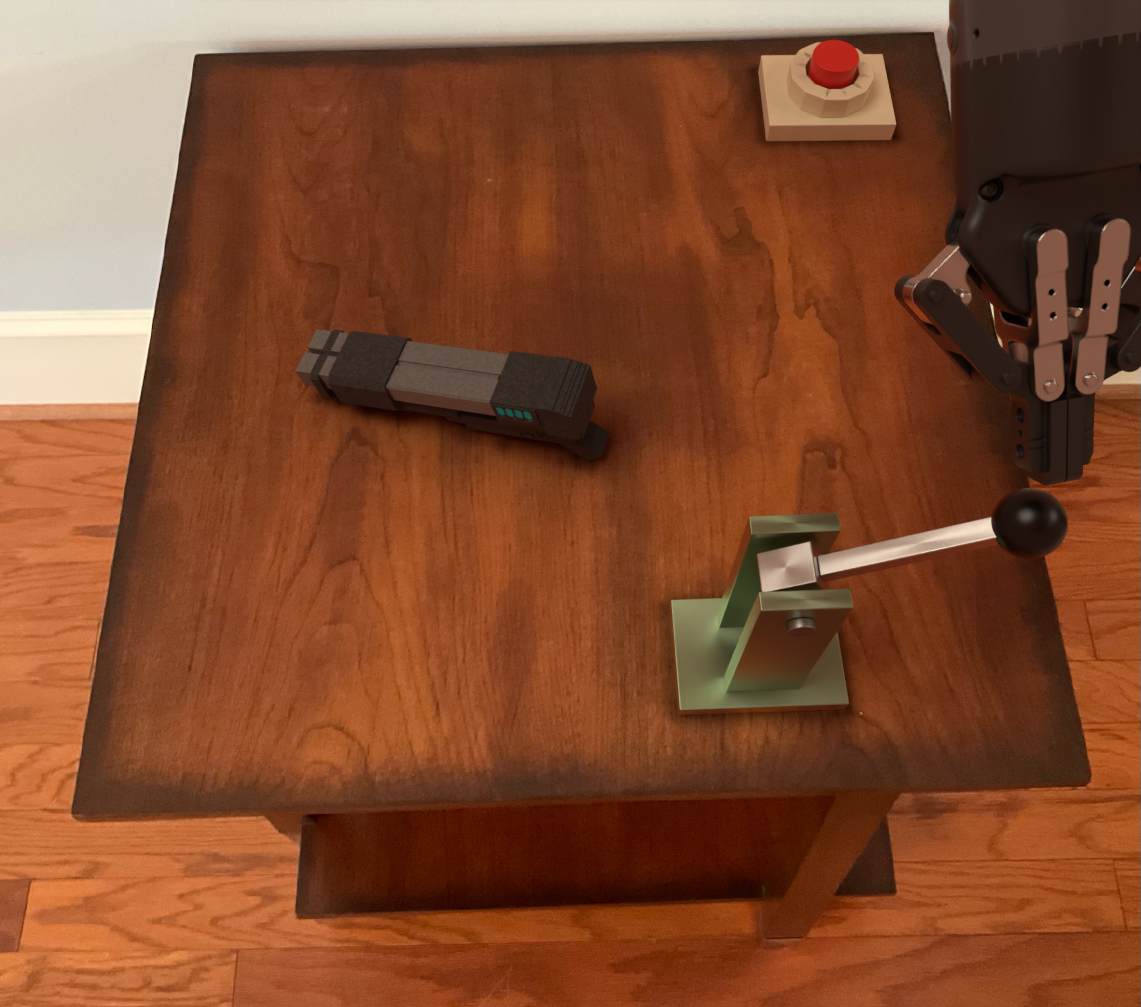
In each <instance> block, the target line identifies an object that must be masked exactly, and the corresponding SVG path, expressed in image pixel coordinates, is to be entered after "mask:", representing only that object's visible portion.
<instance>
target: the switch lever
mask: <svg viewBox="0 0 1141 1007" xmlns="http://www.w3.org/2000/svg"><path fill="white" fill-rule="evenodd" d="M1067 514H1068V513H1067V511H1066V509H1065V507H1064V506H1063V504H1062V502H1061V501H1059V499H1058V498H1057V497H1055V496H1054V495H1053V494H1051V493H1049V491H1048V492H1047V491H1045V490H1043V489H1039V488H1034V487H1024V488H1019V489H1015V490H1013V491H1010V492H1009V493H1006V494H1005V495H1004V496H1002V497H1001V498H1000V499H999V501H998V502H997V503H996V504H995V506H994V508H993V509H992V512H991V516H987V517H983V518H978V519H974V520H969V521H965V522H962V523H961V522H960V523H956V524H951V525H948V526H943V527H939V528H934V529H930V530H925V531H920V532H916V533H912V534H907V535H903V536H899V537H898V536H897V537H894V538H890V539H885V540H881V541H877V542H872V543H867V544H863V545H860V546H854V547H850V548H846V549H845V548H844V549H841V550H836V551H832V552H829V553H827V554H823V555H822V554H821V553H820V552H819V550H818V549H817V548H816V547H815V546H814V545H813V543H812V542H811V541H808V542H803V543H799V544H795V545H790V546H786V547H782V548H778V549H773V550H769V551H765V552H760V553H757V561H758V569H759V576H760V584H761V592H768V591H796V590H824V589H830V584H829V582H831V581H836V580H841V579H846V578H851V577H856V576H860V575H864V574H870V573H874V572H879V571H884V570H888V569H893V568H898V567H902V566H903V567H904V566H908V565H912V564H917V563H921V562H925V561H931V560H936V559H940V558H946V557H949V556H954V555H958V554H963V553H968V552H973V551H976V550H977V551H978V550H983V549H987V548H991V547H996V546H999V547H1000V549H1002V551H1004V552H1006V553H1007V554H1009V555H1011V556H1013V557H1016V558H1020V559H1027V560H1033V559H1040V558H1043V557H1046V556H1048V555H1050V554H1052V553H1053V552H1055V551H1056V550H1057V549H1058V548H1059V547H1060V546H1061V545H1062V544H1063V542H1064V540H1065V538H1066V536H1067V533H1068V528H1069V518H1068V515H1067Z"/></svg>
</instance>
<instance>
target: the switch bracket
mask: <svg viewBox="0 0 1141 1007" xmlns="http://www.w3.org/2000/svg"><path fill="white" fill-rule="evenodd" d="M839 517H840V516H839V514H838V512H827V513H825V512H823V513H800V514H799V513H798V514H771V515H769V514H768V515H749V516H748V519H747V522H746V524H745V527H744V531H743V534H742V538H741V540H740V543H739V546H738V549H737V552H736V555H735V559H734V561H733V565H732V567H731V570H730V573H729V575H728V576H729V577H728V579H727V582H726V585H725V589H724V592H723V594H722V597H705V598H703V597H702V598H676V599H675V598H673V599H670V600H669V604H668V608H669V610H668V611H669V621H670V623H669V624H670V634H671V646H672V648H671V649H672V659H673V670H674V671H673V672H674V682H675V684H674V685H675V695H676V708H677V709H676V710H677V716H701V715H703V716H704V715H726V714H727V715H729V714H732V715H733V714H757V713H758V714H759V713H783V712H784V713H786V712H814V711H839V710H841V711H842V710H846V709H847V707H848V706H849V705H850V701H849V700H850V699H849V695H848V694H849V693H848V688H847V682H846V681H847V680H846V675H845V670H844V669H845V668H844V662H843V657H842V650H841V644H840V638H839V630H840V628H841V627H842V625H843V624H844V623H845V621H846V620H847V618H848V616H849V615H850V614H851V612H852V610H853V609H854V602H853V596H852V590H851V588H831V589H830V588H829V589H824V590H796V591H768V592H761V584H760V576H759V569H758V561H757V553H760V552H765V551H769V550H773V549H778V548H782V547H786V546H790V545H795V544H799V543H803V542H808V541H811V542H812V543H813V545H814V546H815V547H816V548H817V549H818V550H819V552H820V553H821V554H822V555H823V554H827V553H831V550H832V548H833V546H834V544H835V543H836V540H837V539H838V536H839V535H840V533H841V524H840V519H839Z"/></svg>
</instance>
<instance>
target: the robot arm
mask: <svg viewBox="0 0 1141 1007" xmlns="http://www.w3.org/2000/svg"><path fill="white" fill-rule="evenodd" d="M946 46H947V48H948V53H949V78H950V79H949V85H950V136H951V138H950V139H951V142H950V144H951V172H952V178H953V181H954V187H955V202H954V206H953V209H952V212H951V215H950V217H949V219H948V221H947V223H946V226H945V230H944V241H945V245H946V246H945V247H944V248H943V249H942V250H941V251H940V252H939V253H938V254H937V255H936V256H935V257H934V258H933V259H932V260H931V261H930V262H929V263H928V264H927V265H926V266H925V267H924V268H923V269H922V270H921V271H920V272H919V273H918V274H910V273H909V274H905V275H902V276H901V277H900V278H899V279H898V280H897V281H896V283H895V285H894V289H893V293H894V297H895V299H896V300H897V302H898V303H899V304H900V305H901V306H902V308H903V309H905V311H906V312H907V313H908V314H909V315H910V316H911V317H912V319H914V321H916V323H917V324H918V325H919V326H920V327H921V328H922V329H923V331H924V332H925V333H926V334H927V335H928V336H929V337H930V338H931V339H932V340H933V342H934V343H935V344H936V345H937V347H938V348H940V349H941V351H942V352H943V353H944V354H945V355H946V357H948V358H949V359H950V361H952V363H953V364H954V365H955V366H956V367H957V369H958V370H960V372H961V373H962V374H963V375H964V376H965V377H966V378H967V379H968V380H969V381H971V382H973V383H977V384H978V385H981V386H984V387H986V388H990V389H992V390H994V391H997V392H1000V393H1003V394H1008V395H1009V398H1010V405H1011V406H1010V409H1011V411H1010V414H1011V416H1010V418H1011V420H1010V421H1011V422H1010V423H1011V424H1010V426H1011V430H1010V432H1011V434H1010V435H1011V436H1010V437H1011V438H1010V439H1011V449H1010V450H1011V451H1010V452H1011V454H1010V455H1011V457H1012V459H1013V462H1014V464H1015V466H1017V467H1018V468H1021V469H1022V472H1023V473H1024V474H1025V475H1024V476H1026V477H1027V478H1029V479H1031V480H1032V481H1035V482H1037V483H1039V484H1040V485H1042V486H1052V485H1057V484H1063V483H1068V482H1072V481H1078V480H1081V479H1082V477H1083V475H1084V466H1087V465H1090V462H1091V460H1092V457H1093V454H1094V448H1095V447H1094V442H1095V441H1094V438H1095V430H1094V429H1095V404H1096V402H1095V401H1096V393H1097V392H1098V391H1099V390H1100V389H1101V388H1102V386H1103V384H1104V382H1105V381H1106V380H1107V379H1110V378H1111V377H1113V376H1115V375H1116V374H1118V373H1120V372H1125V373H1133V372H1136V371H1137V370H1139V369H1140V368H1141V0H948V27H947V31H946ZM967 276H968V277H969V279H970V280H971V281H972V282H973V284H975V286H976V287H977V289H978V290H979V291H980V292H981V294H982V295H983V296H984V297H985V299H986V300H987V301H988V302H989V304H990V305H991V306H992V309H993V323H994V324H993V325H994V330H995V333H996V335H997V337H998V338H999V340H1000V341H1001V344H1000V343H999V342H998V340H996V339H995V337H994V336H993V335H992V333H990V331H989V330H988V329H987V328H986V327H985V325H983V323H982V322H981V321H980V320H979V319H978V317H977V316H976V315H975V314H974V313H973V312H972V311H971V310H970V308H968V305H969V304H970V303H971V302H972V301H973V295H972V294H973V291H972V288H971V286H970V285H969V283H968V279H967Z"/></svg>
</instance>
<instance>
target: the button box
mask: <svg viewBox="0 0 1141 1007" xmlns="http://www.w3.org/2000/svg"><path fill="white" fill-rule="evenodd" d="M822 42H823V41H817V42H814V43H812V44H809V45H807V46H805V47H802V48H800V49H799V50H798V51H797V52H796V54H780V55H779V54H770V55H769V54H767V55H765V54H763V55H761V56H760V60H759V65H758V71H757V74H758V82H759V90H760V98H761V99H760V100H761V108H762V115H763V124H764V134H765V141H766V142H815V141H817V142H820V141H821V142H822V141H823V142H825V141H826V142H828V141H829V142H831V141H834V142H835V141H892V138H893V135H894V133H895V129H896V127H897V121H896V116H895V111H894V106H893V105H894V104H893V100H892V95H891V90H890V85H889V80H888V76H887V70H886V64H885V59H884V55H883V53H863V52H862V51H861V50H860V49H859V48H857V47H854V48H855V49H856V50H857V51H858V54H859V62H858V66H857V69H856V73H855V76H854V79H853V81H852V82H851V84H850V85H848V86H847V87H845V88H842V89H827V88H824V87H822V86H819V85H816V84H815V83H814V82H813V81H812V80H811V79H810V76H809V67H810V62H811V58H812V54H813V50H814V49H815V47H816V46H817V45H818V44H820V43H822Z"/></svg>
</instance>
